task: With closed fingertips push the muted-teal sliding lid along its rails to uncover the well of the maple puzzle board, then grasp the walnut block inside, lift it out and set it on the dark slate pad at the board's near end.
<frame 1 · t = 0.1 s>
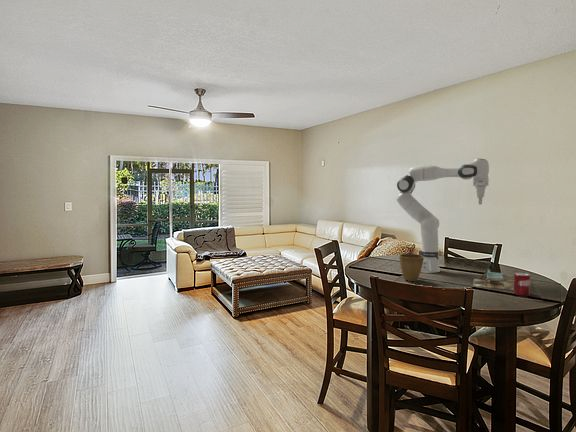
hand: (480, 204, 223), 48 cm above the table, fingers open, 8 cm apart
block: (494, 284, 200), point 1 cm above the table, touching board
soda can: (521, 296, 181), on the table
board: (496, 286, 199), on the table
plant pot: (411, 280, 216), on the table
lid: (494, 273, 199), point 7 cm above the table, slide at 0.0 cm
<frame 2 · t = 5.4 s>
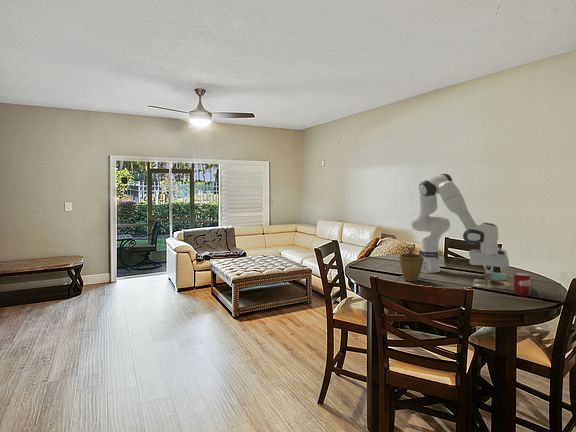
hand: (488, 273, 200), 8 cm above the table, fingers closed
lid: (498, 274, 198), point 7 cm above the table, slide at 1.8 cm, touching gripper
everything else where it was.
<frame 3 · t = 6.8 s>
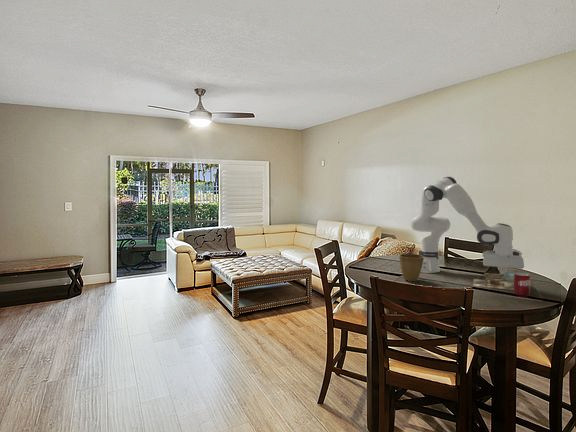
hand: (502, 274, 197), 8 cm above the table, fingers closed
lid: (513, 275, 195), point 7 cm above the table, slide at 9.0 cm, touching gripper
everything else where it was.
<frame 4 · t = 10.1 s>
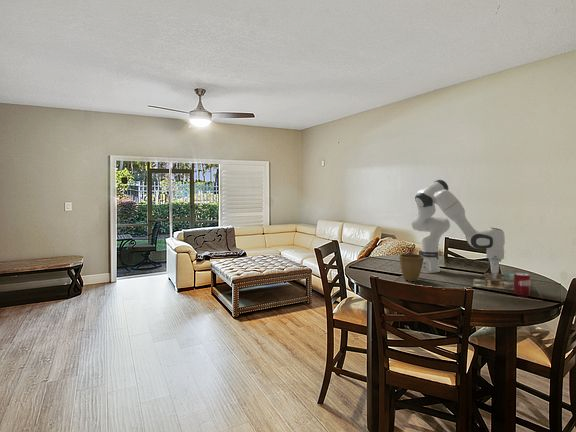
hand: (494, 278, 198), 5 cm above the table, fingers open, 6 cm apart
block: (494, 285, 198), point 1 cm above the table, touching board
lid: (513, 275, 195), point 7 cm above the table, slide at 9.2 cm
everything else where it was.
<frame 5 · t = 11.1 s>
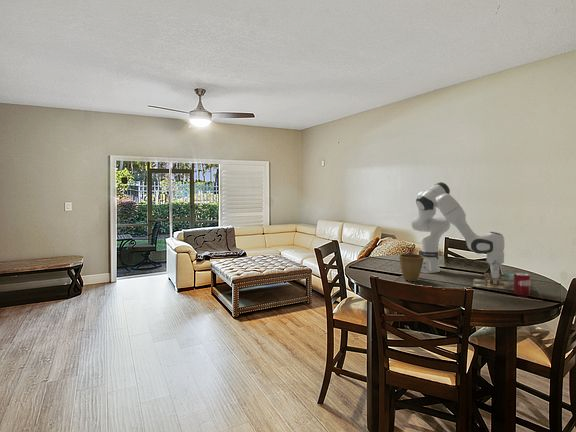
hand: (494, 282, 199), 2 cm above the table, fingers closed on block, 4 cm apart
block: (494, 284, 199), point 1 cm above the table, touching board, gripper
everything else where it was.
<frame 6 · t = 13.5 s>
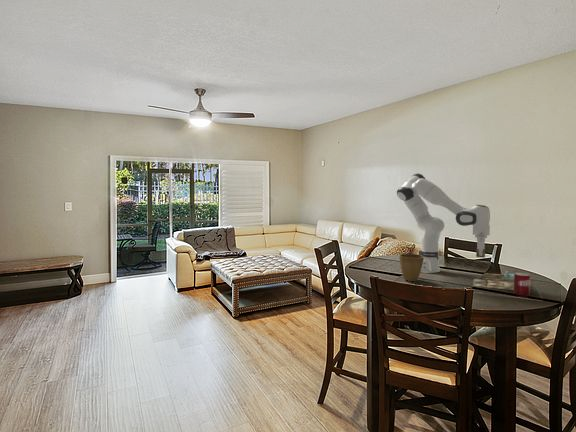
hand: (480, 254, 202), 18 cm above the table, fingers closed on block, 4 cm apart
block: (480, 256, 202), point 17 cm above the table, touching gripper
everything else where it was.
when the fingers open (3 cm above the table, at t = 16.1 s): block stays where it is, resting on board.
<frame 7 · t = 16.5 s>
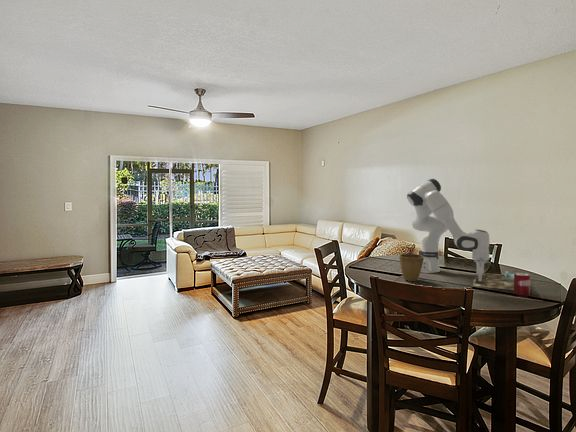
hand: (479, 279, 203), 3 cm above the table, fingers open, 8 cm apart
block: (479, 282, 203), point 1 cm above the table, touching board
everything else where it was.
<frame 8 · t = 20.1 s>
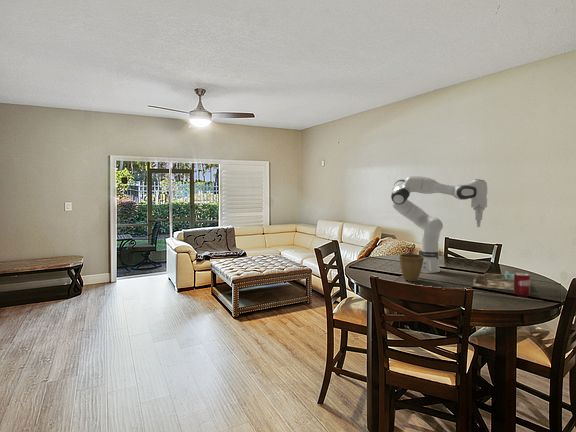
hand: (478, 226, 216), 34 cm above the table, fingers open, 8 cm apart
nothing on the table moved.
at the end: lid slide at 9.2 cm; block 0.1 cm from the target spot on the board, point 1.4 cm above the board's base; block tilted 0° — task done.
